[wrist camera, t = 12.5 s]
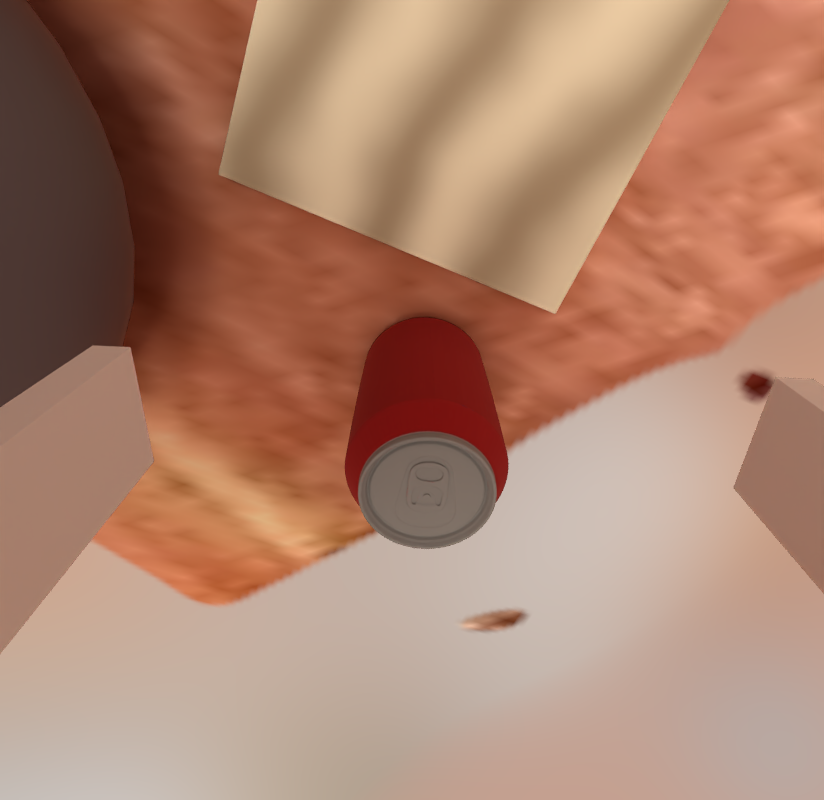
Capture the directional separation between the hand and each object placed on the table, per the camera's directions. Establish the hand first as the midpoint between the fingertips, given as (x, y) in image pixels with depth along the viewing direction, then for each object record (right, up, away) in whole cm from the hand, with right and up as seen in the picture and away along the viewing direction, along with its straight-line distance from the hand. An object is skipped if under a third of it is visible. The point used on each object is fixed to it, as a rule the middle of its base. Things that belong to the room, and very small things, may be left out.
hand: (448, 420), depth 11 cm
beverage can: (0, +2, +20) cm, 20 cm away
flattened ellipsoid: (-24, +11, +16) cm, 31 cm away
